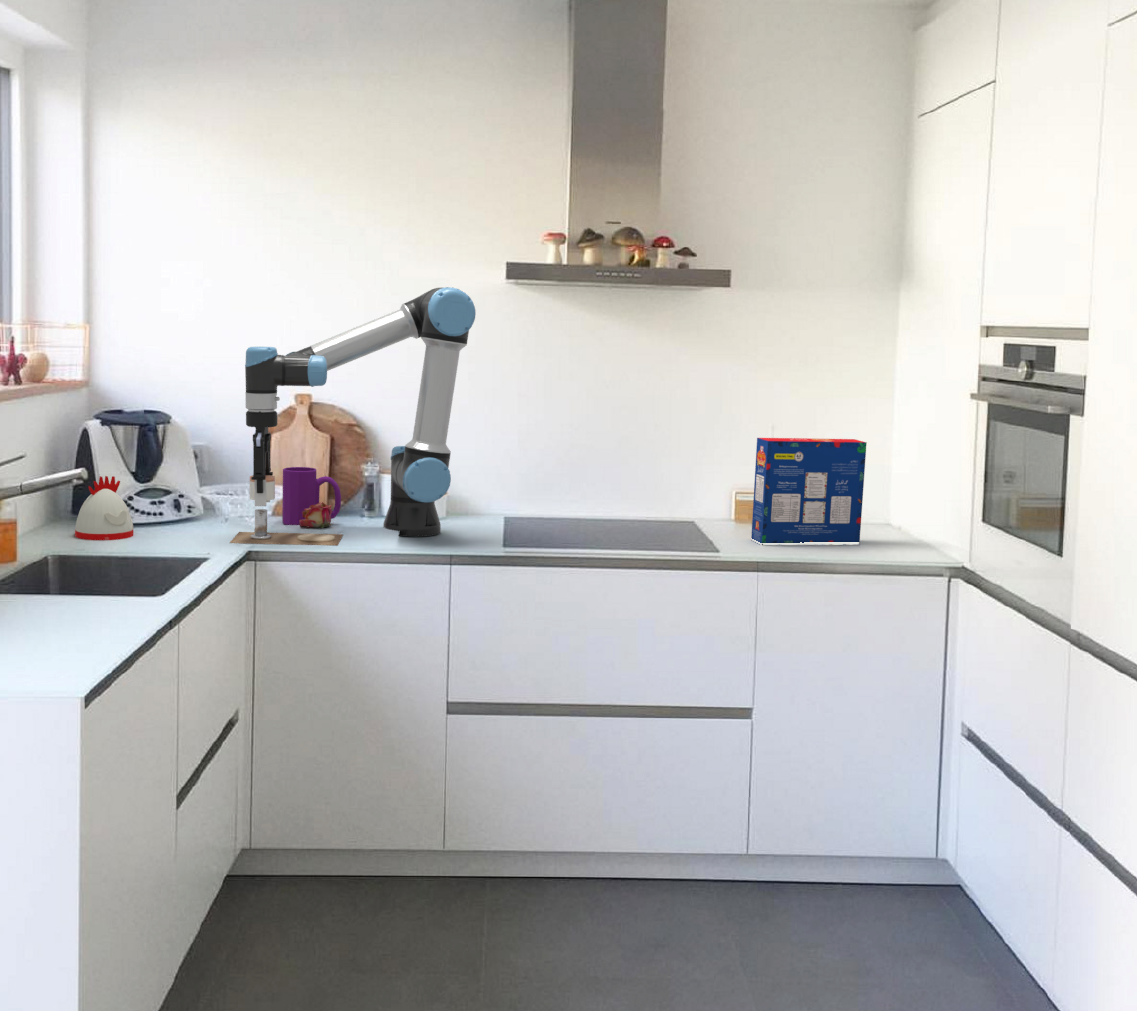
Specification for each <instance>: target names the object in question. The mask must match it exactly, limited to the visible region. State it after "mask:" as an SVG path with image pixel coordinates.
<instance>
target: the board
mask: <svg viewBox="0 0 1137 1011" xmlns="http://www.w3.org/2000/svg"><path fill="white" fill-rule="evenodd" d="M253 534H255V531H239V532H237V533H236V535H235V536H234V537H233V538H232V539H231V540H230V542H229V544H248V545H249V544H250V545H251V544H253V545H254V544H255V545H288V546H290V545H293V546H295V545H296V546H332V547H334V546H335V547H337V546H339V544H340V542H341V540H342V538H343V536H344V534H341V533H327V534H328V535H333V536H334V537H335V540H333V541H329V542H304V541H300V540H298V536H299V535H303V534H312V533H311V532H309V533H306V532H305V533H304V532H303V533H301V532H299V533H298V532H268V531H267V534H269V535H271V539H266V540H256V539H251V535H253Z"/></svg>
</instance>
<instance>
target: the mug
mask: <svg viewBox="0 0 1137 1011" xmlns="http://www.w3.org/2000/svg"><path fill="white" fill-rule="evenodd" d="M324 483H329V484H330V485H331V486H332V488H333V491H334V507H333V509H332V513H331V520H332V519H335V518H336V516H338V514H339V513H340V510H341V506H342V494H341V488H340V486H339V484H338V483H337V481H335V479H334V478H332V477H330V476H326V475H325V476H321V477H319V478H318V477H317V469H316V468H314V467H307V466H290V467H285V468H283V469H282V509H281V510H282V511H281V512H282V517H281V518H282V520H281V521H282V523H283V524H284V525H285V526H299V525H300V523H299V521H300V520H304V519H305V518H304V517H303V514H302V511H304V509H309V507H310V506H311V505H316V504H318V503H320V487H321V486H322V485H323V484H324Z"/></svg>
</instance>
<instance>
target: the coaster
mask: <svg viewBox="0 0 1137 1011" xmlns="http://www.w3.org/2000/svg"><path fill="white" fill-rule="evenodd" d="M328 534H329V533H311V534H303V535H299V536H298V540H300V541H304V542H329V541H333V540H335V537H334V536H333V535H328Z"/></svg>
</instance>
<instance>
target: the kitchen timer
mask: <svg viewBox="0 0 1137 1011" xmlns="http://www.w3.org/2000/svg"><path fill="white" fill-rule="evenodd" d="M120 484H121V481H120V480H117V482H116V477H115V476H111V479H110V480H109V477H108V476H107V475H105V476H104V478H103V476H99V479H98V482H97V481H95V480H93V486H94V489H93V488H92V486H90V485H88V490H89V493H90V495H89V496H88V497H87V498H86V499H85V500H84V502H83V503H82V505H81V507H80V510H79V512H78V515H77V518H76V520H75V528H74V538H77V539H80V540H85V541H87V540H88V541H116V540H117V541H118V540H124V539H129V538H131V537H134V523H133V522H134V521H133V520H132V516H131V514H130V510H129V508H128V506H127V504H126V503H125V501H124V499H123V498H122V497H121V496H119V494H118V493H117V491H118V489H119V486H120Z"/></svg>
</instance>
